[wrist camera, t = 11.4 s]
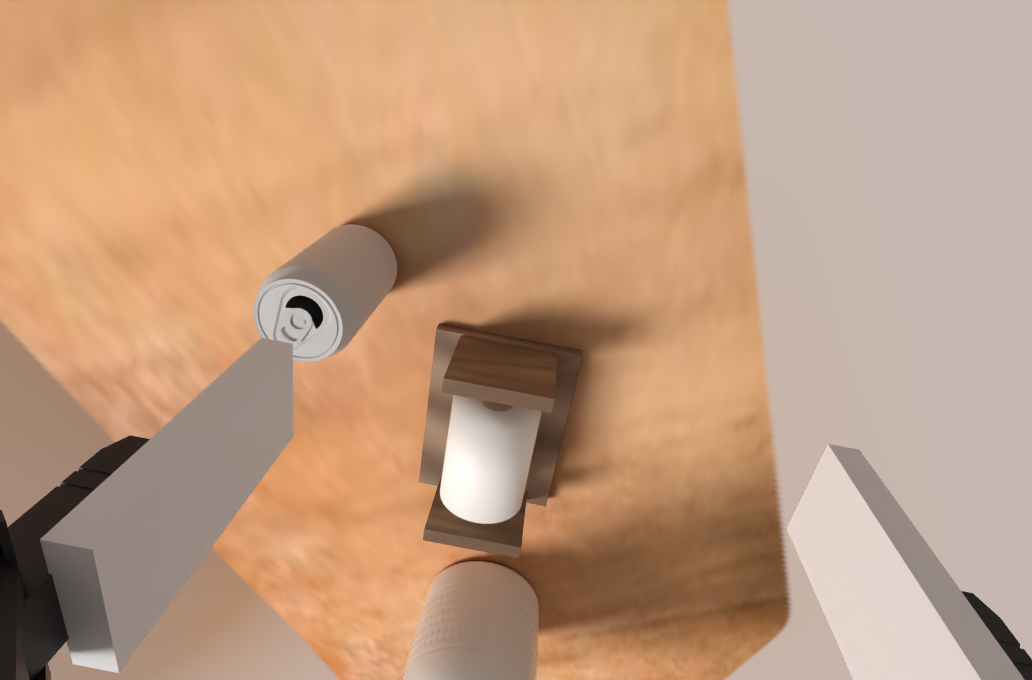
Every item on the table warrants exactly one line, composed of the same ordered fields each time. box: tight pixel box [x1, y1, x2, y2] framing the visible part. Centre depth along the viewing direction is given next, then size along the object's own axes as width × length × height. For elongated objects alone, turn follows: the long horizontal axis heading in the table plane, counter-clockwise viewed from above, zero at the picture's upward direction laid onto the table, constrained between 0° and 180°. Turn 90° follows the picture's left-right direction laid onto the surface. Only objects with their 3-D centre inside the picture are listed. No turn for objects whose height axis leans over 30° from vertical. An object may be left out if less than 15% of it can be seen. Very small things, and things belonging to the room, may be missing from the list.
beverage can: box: [254, 224, 397, 362], centre depth 42 cm, size 6×6×12 cm
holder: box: [419, 324, 582, 558], centre depth 49 cm, size 16×12×8 cm
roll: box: [440, 395, 541, 524], centre depth 48 cm, size 9×7×7 cm
